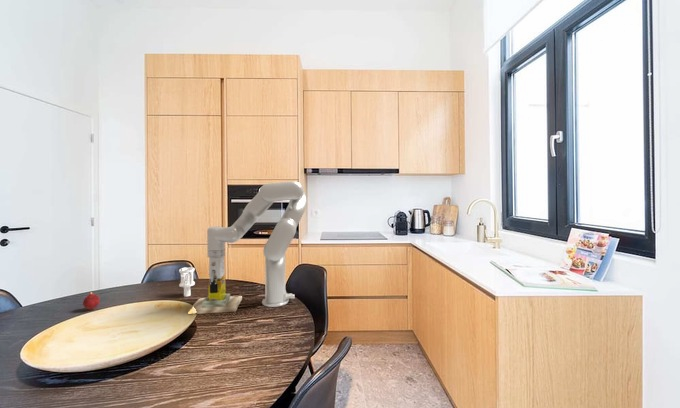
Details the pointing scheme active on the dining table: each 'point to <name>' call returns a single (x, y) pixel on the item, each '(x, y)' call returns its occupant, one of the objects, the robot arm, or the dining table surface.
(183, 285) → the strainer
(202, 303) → the grey flat piece
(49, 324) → the dining table surface
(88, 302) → the onion
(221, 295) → the supplement box
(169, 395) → the dining table surface
